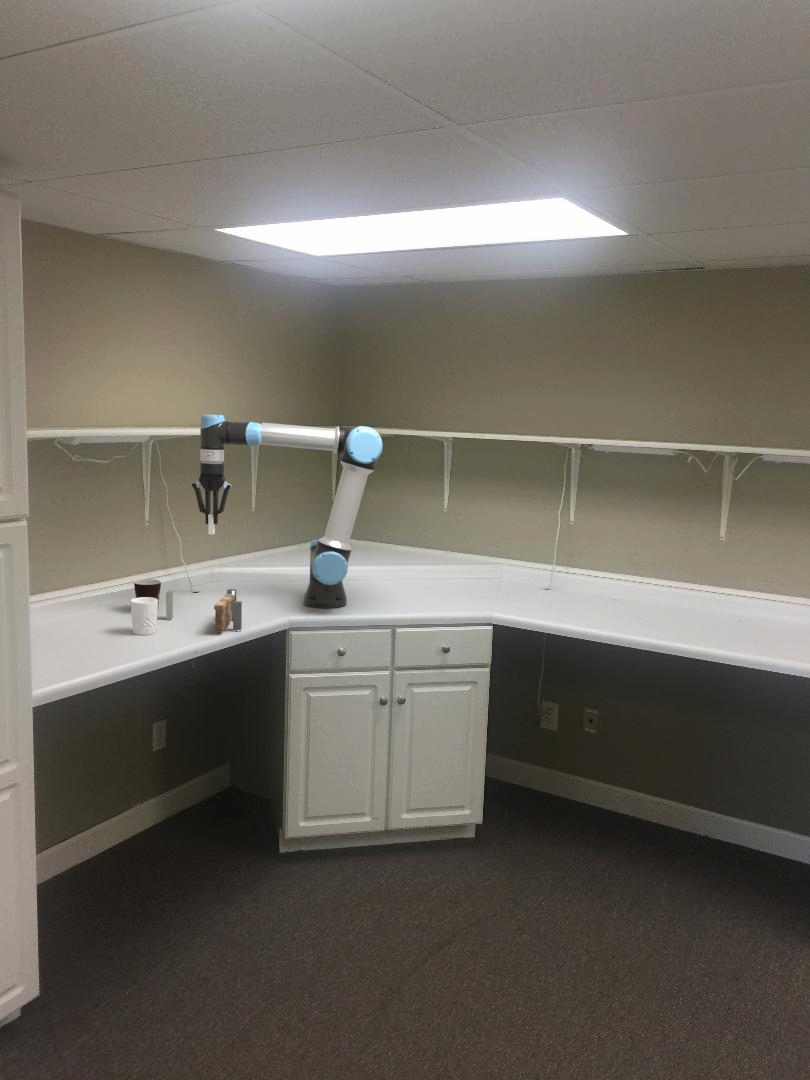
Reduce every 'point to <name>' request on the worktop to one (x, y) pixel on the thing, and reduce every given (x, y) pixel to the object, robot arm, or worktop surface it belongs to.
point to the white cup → (144, 615)
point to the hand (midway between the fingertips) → (211, 533)
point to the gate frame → (235, 608)
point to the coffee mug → (147, 588)
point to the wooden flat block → (223, 612)
